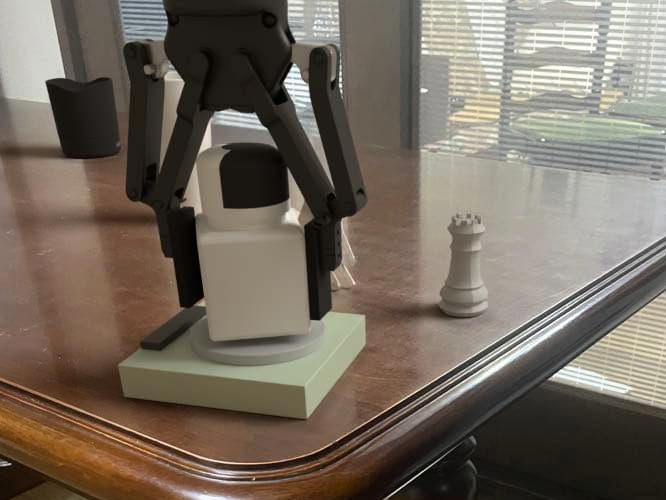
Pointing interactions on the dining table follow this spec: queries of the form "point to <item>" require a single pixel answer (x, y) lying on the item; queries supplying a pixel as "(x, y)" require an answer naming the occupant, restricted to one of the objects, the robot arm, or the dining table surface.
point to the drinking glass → (169, 118)
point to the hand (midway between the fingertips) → (256, 307)
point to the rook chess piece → (464, 269)
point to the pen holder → (85, 117)
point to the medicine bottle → (250, 244)
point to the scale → (242, 365)
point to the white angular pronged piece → (307, 216)
